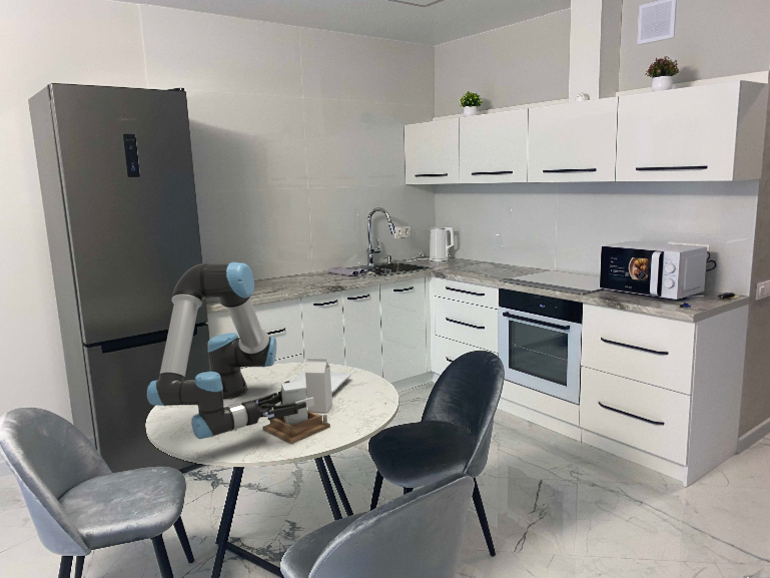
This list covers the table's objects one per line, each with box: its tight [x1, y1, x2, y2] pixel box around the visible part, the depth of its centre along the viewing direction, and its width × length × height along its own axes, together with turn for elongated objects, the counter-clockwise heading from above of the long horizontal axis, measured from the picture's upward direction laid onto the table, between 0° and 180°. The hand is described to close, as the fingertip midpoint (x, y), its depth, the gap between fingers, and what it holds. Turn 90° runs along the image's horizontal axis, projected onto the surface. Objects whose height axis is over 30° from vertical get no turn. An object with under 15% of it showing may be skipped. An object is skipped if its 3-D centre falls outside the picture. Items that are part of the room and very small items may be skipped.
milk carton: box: [304, 357, 333, 413], centre depth 210 cm, size 7×7×19 cm
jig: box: [262, 409, 331, 445], centre depth 195 cm, size 16×16×4 cm
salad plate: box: [290, 369, 352, 395], centre depth 233 cm, size 21×21×3 cm
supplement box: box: [280, 381, 308, 425], centre depth 194 cm, size 7×7×13 cm
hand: (306, 397), depth 196 cm, fingers closed on supplement box, 9 cm apart
